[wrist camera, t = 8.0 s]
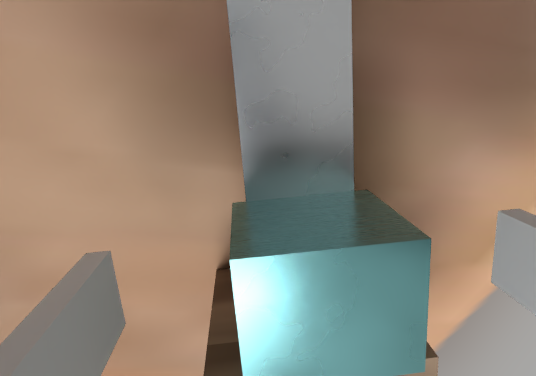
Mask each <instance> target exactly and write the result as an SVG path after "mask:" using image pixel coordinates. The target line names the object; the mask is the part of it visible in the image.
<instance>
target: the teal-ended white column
mask: <svg viewBox="0 0 536 376" xmlns="http://www.w3.org/2000/svg"><path fill="white" fill-rule="evenodd" d="M227 9H228V19H229V29H230V40H231V50H232V60H233V70H234V81H235V91H236V101H237V111H238V122H239V132H240V142H241V152H242V163H243V173H244V183H245V193H246V202H237V203H233V204H232V223H231V242H230V268H231V277H232V286H233V294H234V303H235V312H236V320H237V329H238V338H239V346H240V355H241V364H242V372H243V376H398V375H406V374H413V373H421V372H425V362H426V340H427V319H428V298H429V276H430V255H431V238H430V237H428V236H427V235H426V234H424V233H423V232H422V231H421V230H419V229H418V228H417V227H415V226H414V225H413V224H411V223H410V222H409V221H407V220H406V219H405V218H404V217H402V216H401V215H400V214H398V213H397V212H396V211H394V210H393V209H392V208H390V207H389V206H388V205H387V204H385V203H384V202H383V201H381V200H380V199H379V198H377V197H376V196H375V195H373V194H372V193H371V192H370V191H368V190H360V191H354V148H353V77H352V6H351V0H227Z"/></svg>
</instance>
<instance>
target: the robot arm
mask: <svg viewBox="0 0 536 376" xmlns="http://www.w3.org/2000/svg"><path fill="white" fill-rule="evenodd" d="M491 283H493V284H494V285H495V286H497V287H498V288H499V289H501V290H502V291H504V292H505V293H506V294H507V295H509V296H510V297H512V298H513V299H514V300H515V301H517V302H518V303H519V304H521V305H522V306H523V307H525V308H526V309H527V310H529V311H530V312H531V313H532V314H534V315H535V316H536V215H533V214H531V213H528V212H526V211H524V210H521V209H511V210H502V211H498V217H497V227H496V237H495V248H494V258H493V268H492V278H491ZM125 324H126V323H125V318H124V314H123V309H122V304H121V299H120V295H119V290H118V285H117V280H116V276H115V271H114V266H113V261H112V257H111V252H110V251H103V252H93V253H86V254H85V255H84V256H83V257H82V258H81V259H80V260H79V261H78V262H77V263H76V264H75V266H74V267H73V268H72V269H71V270H70V271H69V272H68V273H67V274H66V275H65V276H64V277H63V278H62V279H61V280H60V281H59V283H58V284H57V285H56V286H55V287H54V288H53V289H52V290H51V291H50V292H49V293H48V294H47V295H46V296H45V297H44V299H43V300H42V301H41V302H40V303H39V304H38V305H37V306H36V307H35V308H34V309H33V310H32V311H31V312H30V313H29V314H28V316H27V317H26V318H25V319H24V320H23V321H22V322H21V323H20V324H19V325H18V326H17V327H16V328H15V329H14V330H13V332H12V333H11V334H10V335H9V336H8V337H7V338H6V339H5V340H4V341H3V342H2V343H1V344H0V376H101V374H102V372H103V370H104V368H105V366H106V364H107V361H108V359H109V357H110V355H111V353H112V351H113V349H114V347H115V345H116V343H117V341H118V339H119V337H120V335H121V333H122V331H123V328H124V326H125Z"/></svg>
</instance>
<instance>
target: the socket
mask: <svg viewBox="0 0 536 376" xmlns="http://www.w3.org/2000/svg"><path fill="white" fill-rule="evenodd" d="M437 373H438V356H437V355H436V353H435V352H434V351H433V349H432V348H431V347H430V345H429V344H428V343H427V341H426V362H425V372H421V373H413V374H406V375H398V376H437ZM204 376H243V372H242V364H241V355H240V346H239V338H238V329H237V320H236V312H235V303H234V294H233V286H232V277H231V269H221V270H217V271H216V279H215V287H214V295H213V303H212V311H211V320H210V328H209V336H208V344H207V352H206V360H205V369H204Z"/></svg>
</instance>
